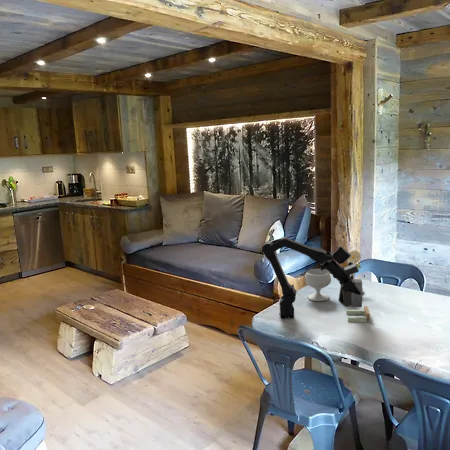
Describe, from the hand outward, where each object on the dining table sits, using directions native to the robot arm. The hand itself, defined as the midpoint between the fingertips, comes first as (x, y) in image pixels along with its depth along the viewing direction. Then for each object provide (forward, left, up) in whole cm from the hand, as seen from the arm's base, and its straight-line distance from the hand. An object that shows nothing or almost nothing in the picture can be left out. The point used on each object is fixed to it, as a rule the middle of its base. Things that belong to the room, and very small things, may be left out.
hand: (359, 292), depth 206 cm
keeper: (-1, +1, -13) cm, 13 cm away
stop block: (-1, 0, -7) cm, 7 cm away
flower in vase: (+8, +35, -13) cm, 38 cm away
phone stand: (0, +20, -13) cm, 24 cm away
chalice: (-13, +30, -13) cm, 35 cm away
